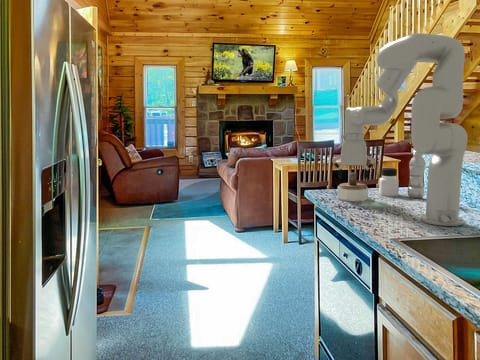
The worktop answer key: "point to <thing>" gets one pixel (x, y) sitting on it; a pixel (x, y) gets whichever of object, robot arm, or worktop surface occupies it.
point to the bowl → (352, 194)
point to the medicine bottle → (389, 182)
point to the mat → (374, 204)
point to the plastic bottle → (416, 176)
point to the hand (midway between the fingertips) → (352, 179)
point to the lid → (352, 183)
